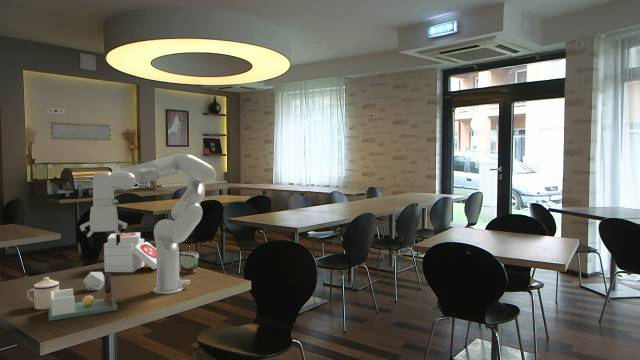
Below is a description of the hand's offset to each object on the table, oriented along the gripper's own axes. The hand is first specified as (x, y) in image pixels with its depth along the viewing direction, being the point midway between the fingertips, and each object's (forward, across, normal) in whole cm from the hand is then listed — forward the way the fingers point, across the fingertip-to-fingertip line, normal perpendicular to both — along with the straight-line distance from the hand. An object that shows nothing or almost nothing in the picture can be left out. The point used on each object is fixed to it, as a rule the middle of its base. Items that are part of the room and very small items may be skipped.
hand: (104, 245), depth 187 cm
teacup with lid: (+24, +22, -8) cm, 34 cm away
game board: (+24, +8, +4) cm, 26 cm away
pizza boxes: (+24, -14, -61) cm, 67 cm away
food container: (+23, -40, -42) cm, 63 cm away
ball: (+21, +6, +4) cm, 22 cm away
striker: (+22, -1, +3) cm, 23 cm away
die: (+24, +4, -26) cm, 36 cm away
